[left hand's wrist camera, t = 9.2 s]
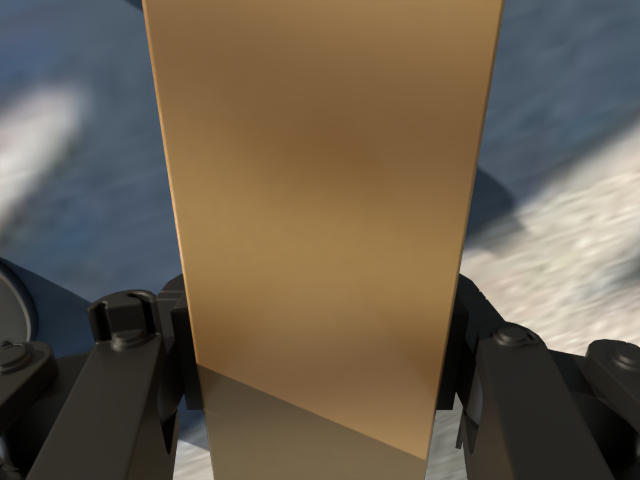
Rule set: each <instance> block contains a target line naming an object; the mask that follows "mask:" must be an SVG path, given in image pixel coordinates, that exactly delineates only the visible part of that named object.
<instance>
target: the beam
mask: <svg viewBox="0 0 640 480" xmlns="http://www.w3.org/2000/svg"><path fill="white" fill-rule="evenodd" d="M142 4H143V11H144V18H145V24H146V31H147V38H148V44H149V51H150V58H151V64H152V71H153V77H154V84H155V91H156V97H157V104H158V111H159V117H160V124H161V131H162V137H163V144H164V150H165V157H166V164H167V170H168V177H169V184H170V190H171V197H172V204H173V210H174V217H175V224H176V230H177V237H178V243H179V250H180V257H181V263H182V270H183V277H184V283H185V290H186V297H187V303H188V310H189V317H190V323H191V330H192V336H193V343H194V350H195V356H196V363H197V370H198V376H199V383H200V390H201V396H202V403H203V409H204V416H205V423H206V429H207V436H208V443H209V449H210V456H211V463H212V469H213V476H214V480H424V479H425V473H426V468H427V462H428V456H429V450H430V444H431V438H432V432H433V426H434V420H435V414H436V408H437V402H438V396H439V390H440V384H441V378H442V372H443V367H444V361H445V355H446V349H447V343H448V337H449V331H450V325H451V319H452V313H453V307H454V301H455V295H456V289H457V283H458V277H459V271H460V266H461V260H462V254H463V248H464V242H465V236H466V230H467V224H468V218H469V212H470V206H471V200H472V194H473V188H474V182H475V176H476V170H477V165H478V159H479V153H480V147H481V141H482V135H483V129H484V123H485V117H486V111H487V105H488V99H489V93H490V87H491V81H492V75H493V69H494V64H495V58H496V52H497V46H498V40H499V34H500V28H501V22H502V16H503V10H504V4H505V0H142Z"/></svg>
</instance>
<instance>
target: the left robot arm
mask: <svg viewBox="0 0 640 480" xmlns="http://www.w3.org/2000/svg"><path fill="white" fill-rule="evenodd" d="M86 311H87V314H88V318H89V322H90V325H91V329H92V332H93V336H94V340H95V345H94V347H93V349H92V351H89V352H85V353H80V354H75V355H69V356H64V357H59V358H55V356H54V353H53V350H52V347H51V346H50V345H49V344H47V343H46V342H40V341H34V339H35V336H36V332H37V316H36V311H35V308H34V305H33V303H32V300H31V298H30V296H29V294H28V293H27V291H26V289H25V288H24V286H23V285H22V284H21V283H20V281H19V280H18V279H17V278H16V277H15V276H14V274H12V273H11V272H10V271H9V270H8V269H7V268H6V267H5V266H4V265H2V264H1V263H0V480H173V472H174V465H175V457H176V449H177V442H178V434H179V426H180V422H179V415H178V410H177V407H178V405H179V402H180V400H181V398H182V396H183V394H185V400H186V405H187V410H204V409H203V403H202V396H201V390H200V383H199V376H198V370H197V363H196V356H195V350H194V343H193V336H192V330H191V323H190V317H189V310H188V303H187V297H186V290H185V283H184V277H183V274H180V275H179V276H177V277H175V278H174V279H172V280H170V281H169V282H168V283H167V284H166V285H165V286H164V288H163V289H162V290H161V293H159V294H158V295H157V296H156V295H154V294H153V293H152V292H150V291H146V290H126V291H120V292H116V293H113V294H110V295H107V296H104V297H102V298H100V299H99V300H97V301H95V302H93V303H92V304H91V305H90V306H89V307H88V308H87V309H86ZM456 392H457V394H458V397H459V399H460V401H461V403H462V405H463V410H462V415H461V421H460V426H459V431H458V436H457V442H456V448H458V449H461V445H462V441H463V448H464V456H465V464H466V472H467V479H468V480H640V347H638V346H637V345H634V344H631V343H626V342H624V341H619V340H608V339H602V340H595V341H593V342H592V343H591V344H589V346H588V349H587V352H586V355H585V357H584V356H579V355H574V354H569V353H564V352H559V351H554V350H550V349H548V348H547V346H546V344H545V343H544V341H543V340H542V339H541V338H540V337H539V335H537V334H536V333H534V332H533V331H531V330H530V329H528V328H526V327H523V326H521V325H518V324H515V323H511V322H506V321H505V320H504V319H503V318H502V317H501V315H500V314H499V313H498V312H497V311H496V309H495V308H494V307H493V306H492V305H491V303H490V302H489V301H488V300H487V299H486V297H485V296H484V295H483V294H482V292H479V289H478V288H477V286H476V285H475V284H474V283H473V282H472V280H470V279H468V278H467V277H465V276H463V275H462V274H460V273H459V277H458V283H457V289H456V295H455V301H454V307H453V313H452V319H451V325H450V331H449V337H448V343H447V349H446V355H445V361H444V367H443V372H442V378H441V384H440V390H439V396H438V402H437V408H436V410H453V404H454V398H455V393H456Z"/></svg>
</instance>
